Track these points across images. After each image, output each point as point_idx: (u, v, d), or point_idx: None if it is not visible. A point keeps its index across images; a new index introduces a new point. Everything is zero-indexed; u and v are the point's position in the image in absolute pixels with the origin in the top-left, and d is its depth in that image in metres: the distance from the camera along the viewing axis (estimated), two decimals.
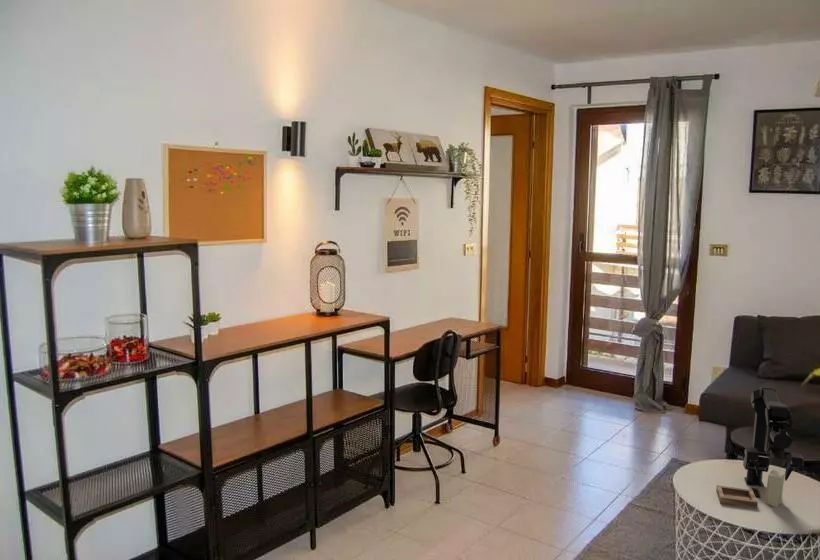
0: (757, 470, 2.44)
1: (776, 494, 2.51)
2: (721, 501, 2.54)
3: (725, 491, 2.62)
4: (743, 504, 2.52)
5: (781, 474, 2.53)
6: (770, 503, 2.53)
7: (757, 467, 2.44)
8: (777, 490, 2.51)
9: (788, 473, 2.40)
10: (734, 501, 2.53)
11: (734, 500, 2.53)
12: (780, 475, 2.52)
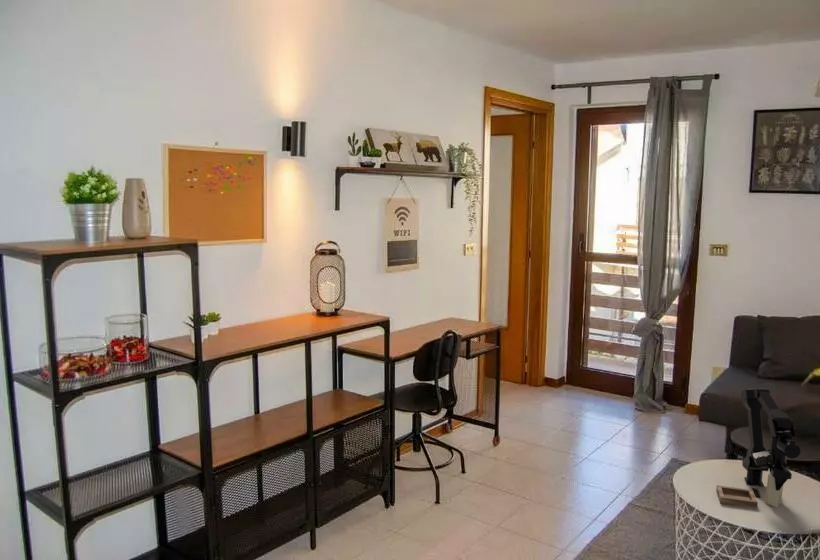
0: None
1: (776, 494, 2.51)
2: (721, 501, 2.54)
3: (725, 491, 2.62)
4: (743, 504, 2.52)
5: None
6: (770, 503, 2.53)
7: None
8: (777, 490, 2.51)
9: (775, 482, 2.50)
10: (734, 501, 2.53)
11: (734, 500, 2.53)
12: None
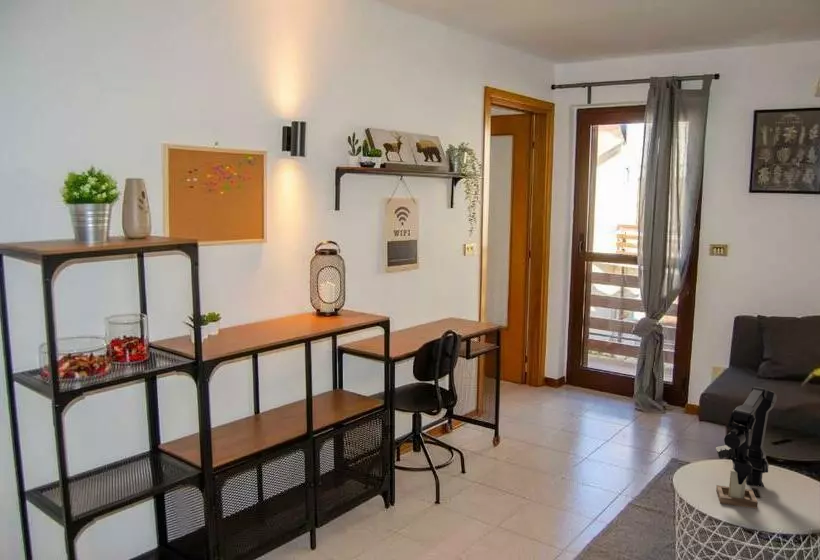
0: None
1: (738, 489, 2.54)
2: (721, 501, 2.54)
3: (725, 491, 2.62)
4: (743, 504, 2.52)
5: None
6: None
7: None
8: (739, 485, 2.53)
9: (737, 476, 2.51)
10: (734, 501, 2.53)
11: (734, 500, 2.53)
12: None
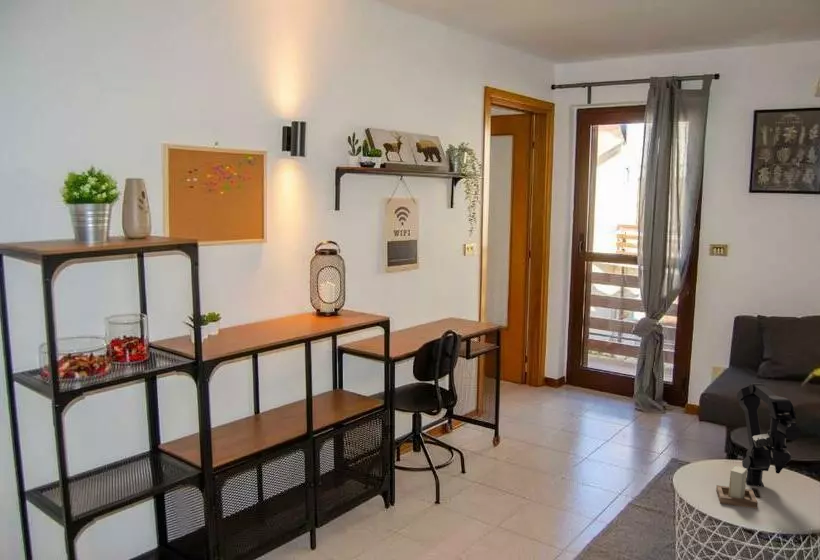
0: (769, 456, 2.61)
1: (738, 489, 2.54)
2: (721, 501, 2.54)
3: (725, 491, 2.62)
4: (743, 504, 2.52)
5: (743, 470, 2.55)
6: None
7: (769, 453, 2.61)
8: (739, 485, 2.53)
9: (775, 465, 2.51)
10: (734, 501, 2.53)
11: (734, 500, 2.53)
12: (742, 471, 2.54)
